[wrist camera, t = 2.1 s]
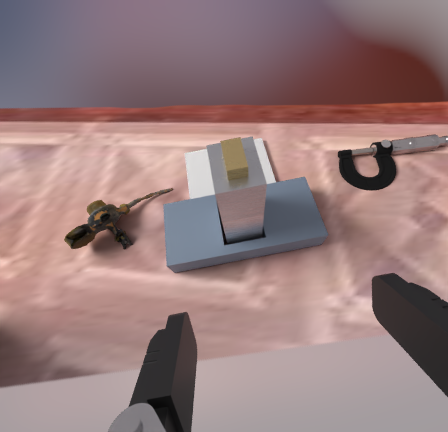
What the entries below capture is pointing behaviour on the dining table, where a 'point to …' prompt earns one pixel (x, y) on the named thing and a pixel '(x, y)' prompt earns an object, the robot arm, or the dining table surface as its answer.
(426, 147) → the micrometer
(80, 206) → the dining table surface
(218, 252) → the body
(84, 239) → the regulator
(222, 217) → the grey yellow-tipped rectangular bar
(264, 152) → the mat
